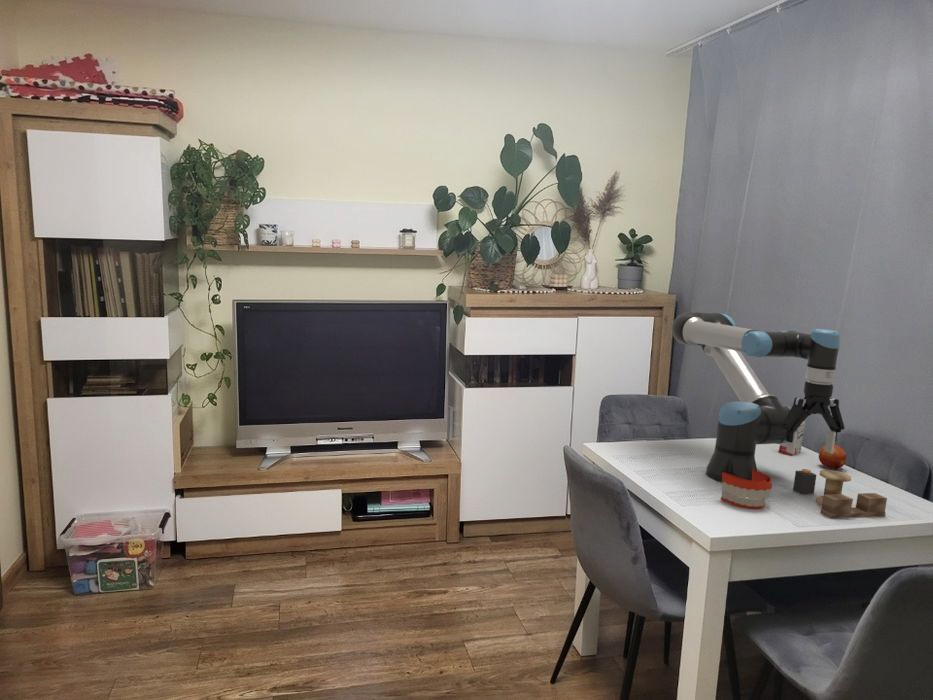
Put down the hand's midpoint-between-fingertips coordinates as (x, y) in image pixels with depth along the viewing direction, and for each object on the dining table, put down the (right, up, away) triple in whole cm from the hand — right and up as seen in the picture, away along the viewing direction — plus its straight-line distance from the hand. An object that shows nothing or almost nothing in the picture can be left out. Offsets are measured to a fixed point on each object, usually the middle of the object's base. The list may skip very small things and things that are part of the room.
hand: (809, 452), depth 211 cm
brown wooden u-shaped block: (+5, -15, -15) cm, 22 cm away
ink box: (+15, -7, +46) cm, 49 cm away
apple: (+22, -10, +30) cm, 38 cm away
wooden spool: (+3, -14, -7) cm, 16 cm away
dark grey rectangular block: (-1, -12, +2) cm, 12 cm away
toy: (-23, -13, -12) cm, 29 cm away
